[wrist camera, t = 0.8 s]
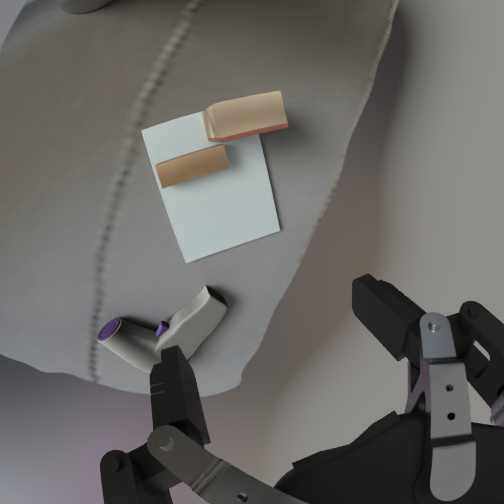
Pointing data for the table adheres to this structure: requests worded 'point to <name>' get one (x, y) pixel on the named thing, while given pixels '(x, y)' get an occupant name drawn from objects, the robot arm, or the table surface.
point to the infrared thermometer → (165, 332)
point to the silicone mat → (213, 190)
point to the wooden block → (244, 117)
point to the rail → (192, 165)
